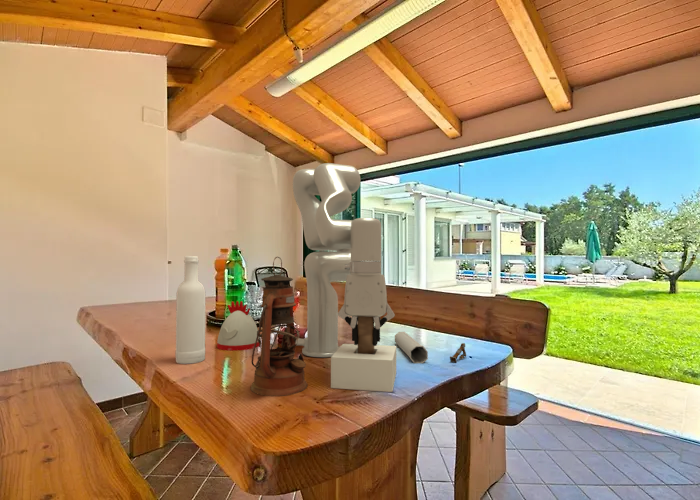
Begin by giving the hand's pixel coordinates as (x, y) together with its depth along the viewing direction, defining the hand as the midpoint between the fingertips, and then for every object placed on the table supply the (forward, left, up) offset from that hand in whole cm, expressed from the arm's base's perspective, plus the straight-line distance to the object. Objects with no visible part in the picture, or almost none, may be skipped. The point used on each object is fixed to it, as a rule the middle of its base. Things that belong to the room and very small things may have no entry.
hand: (366, 343), depth 94 cm
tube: (+9, +30, -9) cm, 33 cm away
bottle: (-52, +8, -9) cm, 54 cm away
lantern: (-19, -8, -9) cm, 23 cm away
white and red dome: (-47, +28, -9) cm, 56 cm away
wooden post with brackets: (+24, +24, -9) cm, 35 cm away
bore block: (0, 0, -9) cm, 9 cm away
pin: (0, 0, -4) cm, 4 cm away
